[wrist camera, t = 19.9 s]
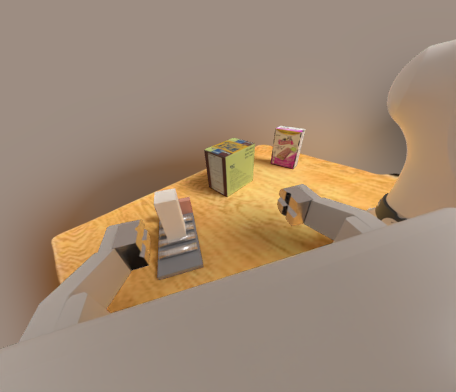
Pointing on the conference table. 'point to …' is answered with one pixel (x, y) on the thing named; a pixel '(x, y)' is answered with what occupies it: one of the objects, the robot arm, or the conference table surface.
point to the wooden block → (170, 214)
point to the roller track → (180, 259)
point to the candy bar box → (287, 146)
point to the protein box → (230, 165)
